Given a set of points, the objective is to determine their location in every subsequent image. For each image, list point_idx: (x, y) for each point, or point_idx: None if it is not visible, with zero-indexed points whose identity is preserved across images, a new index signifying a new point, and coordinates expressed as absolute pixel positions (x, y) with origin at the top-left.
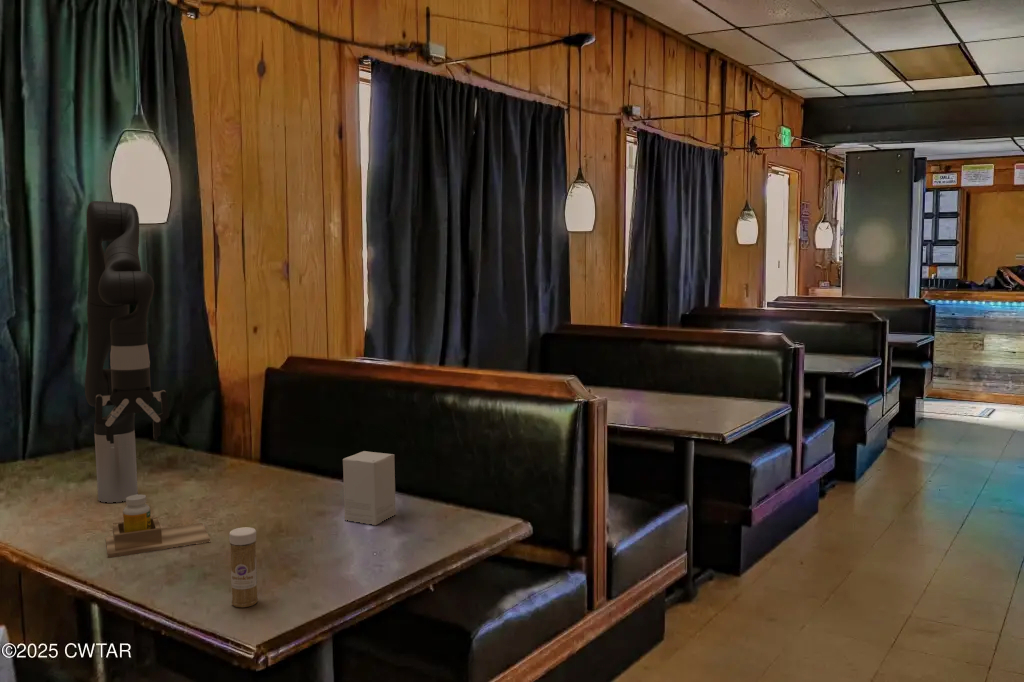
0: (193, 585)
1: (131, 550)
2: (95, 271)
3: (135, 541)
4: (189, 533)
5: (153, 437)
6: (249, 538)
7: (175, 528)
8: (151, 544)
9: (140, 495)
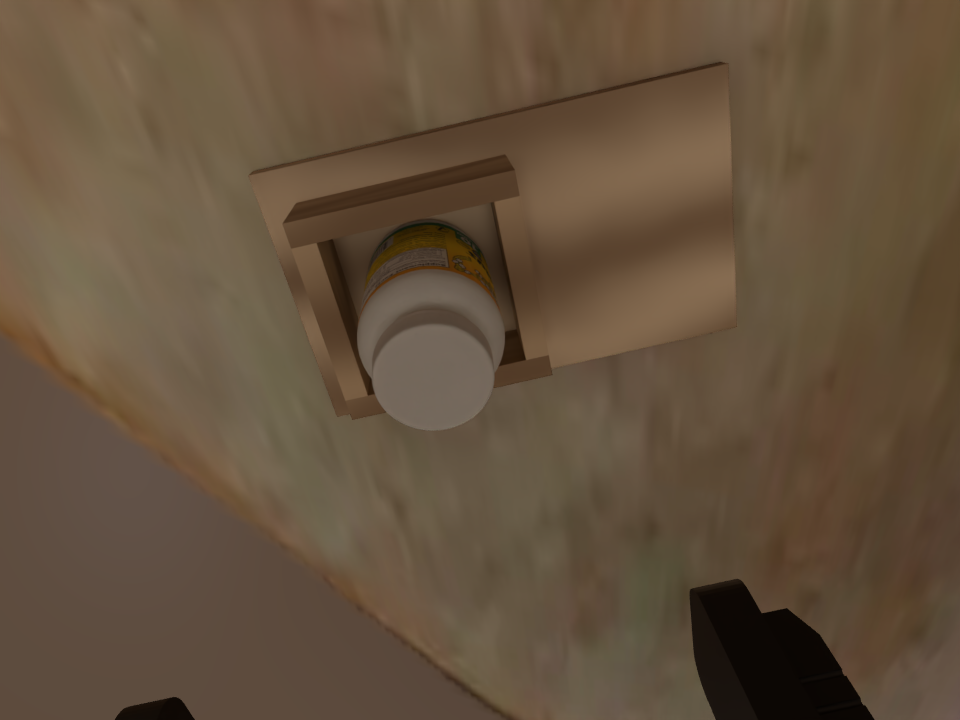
0: (648, 654)
1: None
2: None
3: None
4: (656, 232)
5: (692, 594)
6: None
7: (589, 131)
8: None
9: (456, 349)
